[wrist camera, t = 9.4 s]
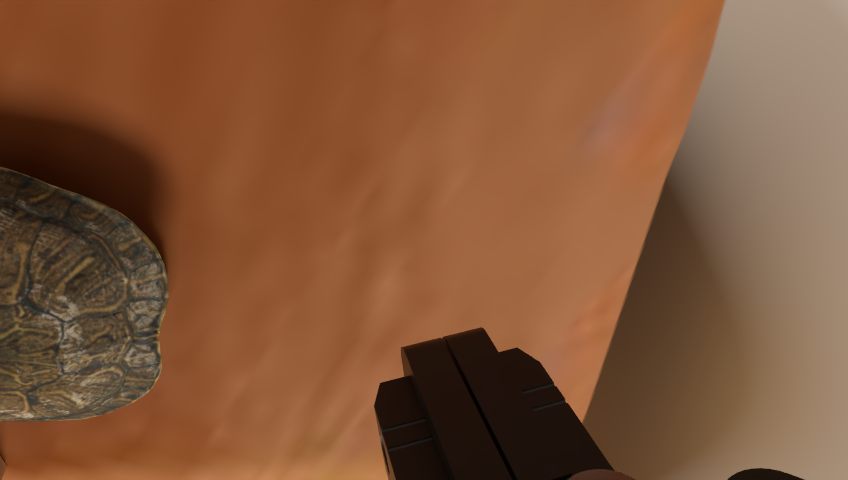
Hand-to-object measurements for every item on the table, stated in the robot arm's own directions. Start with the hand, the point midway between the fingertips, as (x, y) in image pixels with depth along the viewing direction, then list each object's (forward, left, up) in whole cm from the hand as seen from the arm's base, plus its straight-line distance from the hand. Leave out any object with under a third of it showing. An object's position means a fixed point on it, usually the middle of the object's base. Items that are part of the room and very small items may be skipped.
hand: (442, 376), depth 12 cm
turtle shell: (+9, -20, -29) cm, 36 cm away
